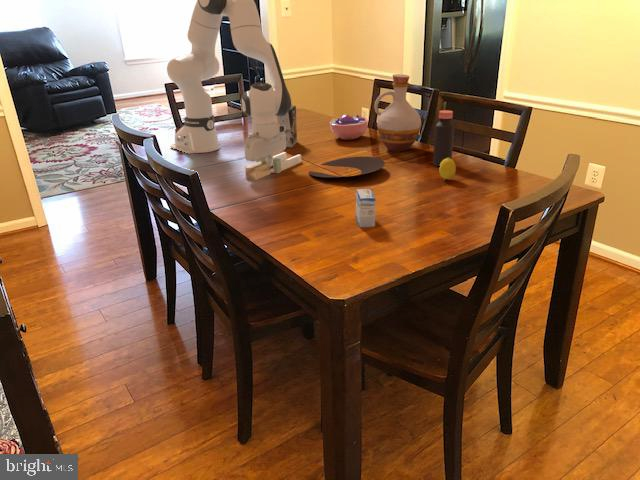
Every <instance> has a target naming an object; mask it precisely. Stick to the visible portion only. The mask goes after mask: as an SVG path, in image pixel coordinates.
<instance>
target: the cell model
mask: <svg viewBox="0 0 640 480" xmlns="http://www.w3.org/2000/svg"><path fill="white" fill-rule="evenodd" d="M368 119H369V118H367V117H364V116H361V115H359V114H356V115H355V116H350V115H348V114H344V115H342V116H339V117H334V118H332V119H331V120H330V121H329V125H330V130H331V131H332V133H333V134H335V136H336V137H337V138H339V139H341V140H343V141H350V140H351V141H352V140H355V139H358V138H360V137H361V136H363V135H364V134H365V133H366V132H367V129H368V125H369V122H368V121H369V120H368Z"/></svg>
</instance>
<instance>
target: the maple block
mask: <svg viewBox="0 0 640 480" xmlns="http://www.w3.org/2000/svg"><path fill="white" fill-rule="evenodd" d="M244 171H245V172H244V174H245V178H246V179H251V180H256V181H258V180H260V179H263V178H264V177H267V176H269V175H271V167H270V163H264V162H257V163H256V162H255V163H251V164H249V165H247V166H245V167H244Z"/></svg>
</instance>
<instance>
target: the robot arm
mask: <svg viewBox="0 0 640 480" xmlns="http://www.w3.org/2000/svg"><path fill="white" fill-rule="evenodd" d="M223 17H228V21H229V27H230V28H229V29H230V34H231V39H232V43H233V46H234V48H235V49H236V50H237V51H238V53H240V54H242V55H244V56H245V57H249V58H252V59H255V60H257V61H259V62H261V63H263V64H264V65H265V67H266V68H267V72H268V74H269V77H270V80H271V84H270V83H268V82H256V83H253V84H251V85H250V89H249V90H247V91H244V92H243V94H242V95H241V97H240V102H241V111H242V113H243V114H245V115H246V116H247V117H250V118H252V119H251V130H252V134H249V135H248V136H247V137H246V139H245V143H244V144H245V145H244V158H245V160H246V161H248V162H251V163H252V162H256V161H257V160H259V159H260V160H261V161H262V162H264V163H270V168H271V167H272V166H271V162H272V159H273V156H274V155H275V154H277V153H279V152H280V153H281V152H282V151H285V150H286V148H287V147H286V134H285V132H284V131H285V130H286V127H285V126H284V125H279V124H278V120H277V118H276V116H277V117H278V116H284V115H285V114H286V113H287V112H288V111H289V110H290V108H291V106H292V98H291V95H290V92H289V90H288V87H287V85H286V82H285V79H284V76H283V75H284V74H283V72H282V68H281V65H280V62H279V59H278V56H277V52H276V50H275V47H274V46H273V45H272V43H270V42H269V41H268V40H267V39H266V38H265V36H264V33H263V30H262V25H261V19H260V15H259V10H258V8H257V4H256V1H255V0H196V3H195V5H194V7H193V11H192V14H191V19H190V23H189V27H188V31H187V34H186V35H187V40H188V41H189V43H190V44H191V52H190V53H189V54H183V55H178V56H176V57H174V58H172V59H171V60H169V61H168V63H167V66H166V72H167V76H168V77H169V80H171V82H173V83H174V84H175V86H177V87H178V89H179V91H180V93H181V95H182V98H183V103H184V110H185V117H182V118H181V119H182V120H181V121H182V122H183V123H184V124H183V126H182V127H181V128H180V129H179V130H178V131H177V132H176V133H175V135H174V143H173V144H171V145H170V146H169V148H170V147H171V148H174V149H177V150H179V151H178V152H180V151H182V152H181V153H184V152H185V153H184V154H187V153H188V155H189V154H199V153H200V154H201V153H203V154H204V153H210V152H214V151H217V150H219V149H221V146H220V144H221V143H220V141H219V139H218V138H219V137H218V133H217V129H216V127H215V123H216V120H215V115H214V113H213V104H212V97H211V94H209V93H208V92H206V91H205V89H204V86H203V84H202V82H203V81H208V80H210V79H212V78H214V77H215V76H217V75H218V73H219V71H220V62H219V59H218V58H217V56H216V43H217V41H218V40H217V39H218V35H219V33H220V32H219V31H220V29H221V28H220V27H221V23H222V20H223ZM171 148H170V149H171ZM174 149H173V150H174ZM177 150H176V151H177ZM266 159H267V160H266Z"/></svg>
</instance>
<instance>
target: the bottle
mask: <svg viewBox="0 0 640 480" xmlns="http://www.w3.org/2000/svg"><path fill="white" fill-rule="evenodd" d="M453 115H454V111H453V110H449V109H448V110H444V109H443V110H439V112H438V119H439V121H438V122H437V123H435V125H434V126H435V129H434V130H435V131H434V140H433V141H434V145H433V159H432V166H434V165H435V166H434V167H437V166H440V163H441V162H442V161H443V160H444V159H446V158H450V159H452V160H453V147H454V134H455V124H454V123H453V122H452V120H453Z"/></svg>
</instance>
